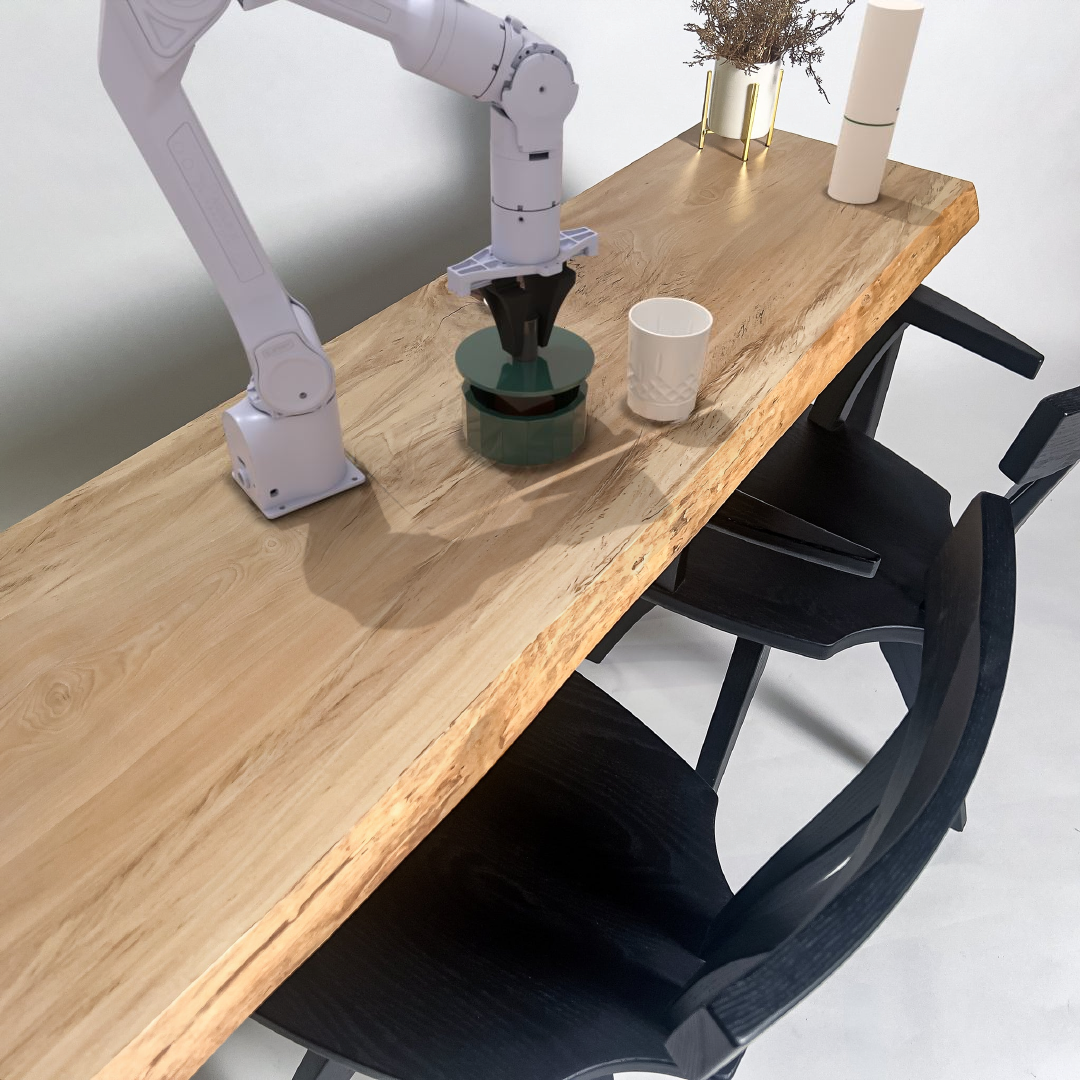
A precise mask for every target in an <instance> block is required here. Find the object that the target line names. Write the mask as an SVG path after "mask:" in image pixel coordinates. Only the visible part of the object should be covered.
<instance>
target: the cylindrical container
mask: <svg viewBox="0 0 1080 1080" xmlns="http://www.w3.org/2000/svg"><path fill="white" fill-rule="evenodd" d="M925 7H926V5H925V4H924V3H922V2H920V1H917V0H868V1H867V5H866V10H865V15H864V19H863V23H862V24H863V25H862V28H861V33H860V38H859V42H858V47H857V52H856V57H855V61H854V65H853V71H852V75H851V80H850V85H849V90H848V94H847V97H846V104H845V108H844V113H843V118H842V121H841V122H842V123H841V127H840V132H839V136H838V140H837V141H838V142H837V146H836V151H835V155H834V160H833V165H832V170H831V174H830V179H829V184H828V188H827V194H828V196H829V197H831V198H832V199H834V200H835V201H839V202H842V203H847V204H853V205H865V204H871V203H874V202H876V201H877V200H878V197H879V193H880V190H881V185H882V181H883V178H884V174H885V169H886V165H887V161H888V158H889V153H890V149H891V146H892V141H893V138H894V137H893V136H894V133H895V128H896V125H897V121H898V117H899V113H900V108H901V105H902V100H903V96H904V92H905V88H906V84H907V81H908V76H909V72H910V68H911V63H912V60H913V56H914V52H915V48H916V45H917V44H916V43H917V40H918V37H919V31H920V28H921V24H922V19H923V16H924V12H925Z"/></svg>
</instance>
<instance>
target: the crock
mask: <svg viewBox="0 0 1080 1080" xmlns="http://www.w3.org/2000/svg"><path fill="white" fill-rule="evenodd" d="M460 392H461V393H460V394H461V415H462V416H461V418H462V419H461V420H462V432H463V436H464V438H465V441H466V444H467V445H468V446H469V447H470V448H471V449H472V450H474V451H475V452H476V453H477V454H478V455H479V456H481V457H483V458H485V459H489V460H491V461H494V462H497V463H499V464H502V465H511V466H520V467H521V466H522V467H532V466H540V465H546V464H547V465H548V464H553V463H555V462H557V461H560V460H563V459H564V458H566V457H569V456H571V455H573V454H574V452H576V451H577V450H578V449H579V448H580V447H581V446H582V445H583V443H584V442H585V436H586V431H587V419H588V402H589V383H588V382H587V379H586V380H585V381H583V382H582V383H581V384H579V385H577V386H576V387H574V388H572V389H569V390H567V391H564V392H561V393H557V394H553V395H551V396H552V397H553V398H555V405H554V408H556V409H558V410H556V411H554V412H553V413H551V414H546V415H538V416H531V417H524V416H513V415H505V414H502V413H499V412H496V411H495V410H493V408H495V393H491V392H488V391H485V390H483V389H480V388H478V387H476V386H474V385H472V384H471V383H469V382H468V381H466V380H465V379H464V378H463V382H462V383H461V387H460Z"/></svg>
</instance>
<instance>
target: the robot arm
mask: <svg viewBox="0 0 1080 1080" xmlns="http://www.w3.org/2000/svg"><path fill="white" fill-rule="evenodd" d="M236 1H237V3H238V5H239V6H240V8H241V9H242V11H243V12H247V11H248V12H249V11H252V10H255V9H258V8H260V7H263V6H266V5H269V4H271V3H275V2H277V1H279V0H236ZM286 1H287V2H290V3H292V4H295V5H298V6H300V7H302V8H304V9H307V10H309V11H312V12H315V13H318V14H320V15H321V16H322V15H323V16H325V17H328V18H330V19H332V20H335V21H337V22H340V23H342V24H345V25H347V26H350V27H352V28H354V29H357V30H361V31H362V32H365V33H368V34H370V35H373V36H375V37H377V38H380V39H383V40H384V41H387V42H389V43H390V46H391V48H392V50H393V53H394V56H395V59H396V61H397V63H398V65H399V66H400V68H401V69H402V70H405V71H407V72H410V73H411V74H414V75H415V76H419V77H421V78H422V79H425V80H428V81H430V82H432V83H435V84H437V85H439V86H442V87H444V88H446V89H448V90H451V91H453V92H456V93H458V94H460V95H463V96H465V97H467V98H469V99H472V100H474V101H476V102H480V103H481V102H482V103H483V102H489V103H491V104H490V113H489V114H490V139H489V157H490V158H489V159H490V161H489V164H490V166H489V167H490V228H491V229H490V232H491V233H490V234H491V244H490V245H488V246H486V247H484V248H483V249H481V250H480V251H478V252H476V253H475V254H473V255H471V256H470V257H468V258H466V259H464V260H463V261H461V262H459V263H456V264H453V265H451V266H448V267H446V275H447V289H448V290H449V291H451V293H453V294H454V295H456V296H458V297H460V298H461V299H462V298H465V297H469V296H470V295H471V293H472V291H474V290H476V289H478V290H479V292H480V293H481V295H482V297H483V299H484V298H485V300H486V302H487V304H488V306H489V307H488V306H487V307H488V308H489V310H490V313H491V315H492V317H493V320H494V323H495V325H496V326H497V330H498V333H499V337H500V341H501V345H502V349H503V350H504V351H506V352H507V353H509V354H510V355H512V356H513V357H518V356H521V354H522V350H523V337H524V321H525V315H526V311H527V309H530V310H534V311H536V312H537V313H538V314H539V340H538V346H540V347H541V348H543V347H546V346H547V345H548V342H549V338H550V335H551V332H552V329H553V326H555V322H556V319H557V317H558V315H559V311H560V310H561V307H562V306H563V303H564V302H565V300H566V298H567V297H568V295H569V293H570V292H571V290H572V289H573V287H574V286H575V285H576V284H577V283H576V282H577V272H576V270H574V269H573V268H571V267H569V266H568V265H567V264H568V261H569V260H573V259H575V258H579V257H581V256H582V257H583V256H585V257H587V258H592V257H594V256H597V255H598V254H599V240H600V239H599V238H600V235H599V234H600V233H598V232H596V231H594V230H592V229H590V228H588V227H587V226H581V227H578V228H573V229H566V230H561V214H562V193H563V192H562V191H563V189H562V188H563V159H564V158H563V157H564V123H565V120H566V119H567V118H568V116H569V114H570V113H571V111H572V110H573V109H574V107H575V105H576V102H577V99H578V95H579V90H580V85H579V84H578V83H576V81H575V76H574V70H573V67H572V64H571V62H570V61H569V60H568V57H567V55H565V53H563V52H562V50H560V49H559V48H557V47H556V46H554V45H553V44H552V43H550V42H549V41H547V40H546V39H544V38H543V37H541V36H540V35H538V34H537V33H535V32H534V31H531V30H530V29H528V27H527V26H526V25H525V24H524V22H523V21H521V20H520V19H518V17H515V16H512V15H511V14H506V16H505V17H504V19H503V18H501V17H499V16H497V15H495V14H493V13H491V12H489V11H487V10H485V9H482V8H480V7H479V6H476V5H475V4H472V3H471V2H468V1H466V0H286ZM231 2H232V0H100V5H99V8H100V9H99V23H98V38H97V51H96V52H97V54H96V55H97V67H98V75H99V78H100V80H101V83H102V86H103V88H104V90H105V93H106V94H107V95H108V97H109V99H110V101H111V103H112V104H113V107H114V108H115V110H116V112H117V113H118V115H119V117H120V119H121V120H122V122H123V124H124V126H125V128H126V129H127V132H128V133H129V134H130V137H131V138H132V141H133V142H134V144H135V146H136V147H137V149H138V151H139V152H140V154H141V156H142V158H143V160H144V162H145V163H146V166H147V167H148V169H149V171H150V172H151V174H152V176H153V177H154V179H155V181H156V183H157V185H158V187H159V188H160V190H161V192H162V193H163V195H164V197H165V199H166V201H167V203H168V204H169V206H170V208H171V210H172V212H173V213H174V216H175V217H176V218H177V221H178V223H179V224H180V226H181V228H182V230H183V231H184V233H185V235H186V236H187V239H188V241H189V242H190V244H191V246H192V247H193V249H194V251H195V253H196V254H197V256H198V259H199V260H200V262H201V264H202V265H203V267H204V270H206V272H207V274H208V276H209V278H210V279H211V281H212V283H213V285H214V287H215V289H216V291H217V293H218V294H219V296H220V298H221V299H222V301H223V303H224V305H225V307H226V308H227V310H228V312H229V314H230V317H231V319H232V321H233V324H234V326H235V328H236V331H237V333H238V335H239V336H238V337H239V341H240V343H241V346H242V348H243V349H244V352H245V354H246V357H247V361H248V364H249V368H250V370H251V371H250V372H251V374H252V375H251V377H250V378H249V379H250V380H249V384H247V386H246V393H247V394H246V396H244V398H243V399H241V400H240V401H239V402H238V403H235V404H234V405H233V406H231V407H229V408H227V409H225V410H224V411H223V412H222V415H221V423H222V428H223V431H224V436H225V440H226V446H227V450H228V454H229V459H230V463H231V467H232V472H231V477H232V478H233V479H234V481H235V482H236V483H237V484H238V485H239V487H240V488H241V489H242V490H243V491H244V492H245V494H246V495H247V496H248V497H249V498H250V500H251V501H252V502H253V503H254V504H255V505H256V506H257V507H258V509H259V510H260V511H261V512H262V514H263V515H264V516H265V517H266V518H267V519H271V520H273V519H276V518H278V517H281V516H284V515H286V514H289V513H291V512H294V511H296V510H299V509H301V508H304V507H306V506H309V505H312V504H313V503H317V502H318V501H321V500H324V499H327V498H329V497H331V496H334V495H337V494H339V493H341V492H344V491H346V490H349V489H351V488H353V487H356V486H359V485H361V484H363V483H365V482H366V475H365V474H364V473H363V472H362V471H361V470H360V469H359V468H358V467H357V466H356V465H354V463H353V462H351V461H350V459H348V457H346V453H345V446H344V440H343V439H344V438H343V432H342V425H341V419H340V409H339V404H338V396H337V389H336V372H335V367H334V364H333V363H332V361H331V359H330V357H329V356H328V355H327V353H326V351H325V349H324V347H323V345H322V342H321V340H320V338H319V336H318V333H317V330H316V327H315V321H314V319H313V317H312V313H310V311H309V310H308V309H307V307H306V306H305V305H304V304H303V303H301V302H299V301H298V300H296V299H295V298H294V297H293V296H292V295H291V294H290V293H289V291H287V289H286V288H285V285H284V284H283V281H282V279H281V278H280V276H279V275H278V273H277V272H276V270H275V268H274V266H273V264H272V262H271V260H270V258H269V257H268V254H267V252H266V250H265V248H264V246H263V244H262V241H261V240H260V238H259V236H258V234H257V232H256V230H255V228H254V226H253V224H252V223H251V221H250V218H249V216H248V214H247V212H246V210H245V209H244V206H243V204H242V202H241V200H240V198H239V196H238V194H237V192H236V191H235V189H234V188H235V187H234V186H233V184H232V182H231V180H230V179H229V177H228V174H227V173H226V172H227V171H225V169H224V166H223V164H222V162H221V160H220V158H219V157H218V155H217V153H216V151H215V148H214V146H213V145H212V144H213V143H212V142H211V141H210V139H209V136H208V135H207V133H206V131H205V128H204V127H203V125H202V122H201V121H200V118H199V117H198V115H197V113H196V110H195V108H194V106H193V105H192V103H191V101H190V98H189V96H188V95H187V92H186V91H185V88H184V87H183V84H182V79H183V77H184V75H185V73H186V70H187V67H188V65H189V63H190V61H191V58H192V55H193V52H194V50H195V47H196V43H197V42H198V41H199V40H200V39H201V38H202V37H203V36H205V35H206V33H207V32H208V31H209V30H210V29H212V27H213V26H214V25H215V24H216V23H217V22H218V21H219V20H220V18H221V17H222V16H223V14H224V13H225V12H226V11H227V9H228V8H229V6H230V4H231ZM519 276H520V277H521V276H522V280H523V286H524V288H523V287H522V286H521V281H520V280H519V281H518V277H519Z"/></svg>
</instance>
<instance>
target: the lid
mask: <svg viewBox="0 0 1080 1080" xmlns="http://www.w3.org/2000/svg"><path fill="white" fill-rule="evenodd" d="M538 340H539V314H538V313H537V312H536V311H534V310H530V309H527V311H526V315H525V321H524V337H523V350H522V354H521V356H518V357H513V356H512V355H510V354H509V353H507V352H506V351H504V350H503V349H502V345H501V341H500V337H499V333H498V330H497V326H496V324H494V325H491V326H488V327H484V328H481V329H479V330H477V331H474V332H472V333H471V334H469V335H467V336H466V337H465V338H464V339H462V341H461V342H460V343H459V344H458V346H457V347H456V349H455V353H454V364H455V368H456V370H457V372H458V373H459V375H460V376H461V377H462V378H463V380H464V379H465V380H466V381H468V382H469V383H471V384H472V385H474V386H476V387H478V388H480V389H483V390H485V391H488V392H491V393H495V394H499V395H504V396H512V397H540V396H548V395H553V394H557V393H561V392H564V391H567V390H569V389H572V388H574V387H576V386H577V385H579V384H581V383H582V382H583V381H585V380H586V381H587V379H588V378H589V377H590V376H591V374H592V373H593V371H594V368H595V363H596V356H595V352H594V350H593V347H592V346H591V344H589V342H588V341H587V340H586V339H584V338H583V337H582V336H581V335H579V334H577V333H576V332H573V331H571V330H568V329H566V328H563V327H561V326H556V325H554V326H553V329H552V332H551V335H550V338H549V342H548V345H547V346H546V347H543V348H541V347H540V346H538Z"/></svg>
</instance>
